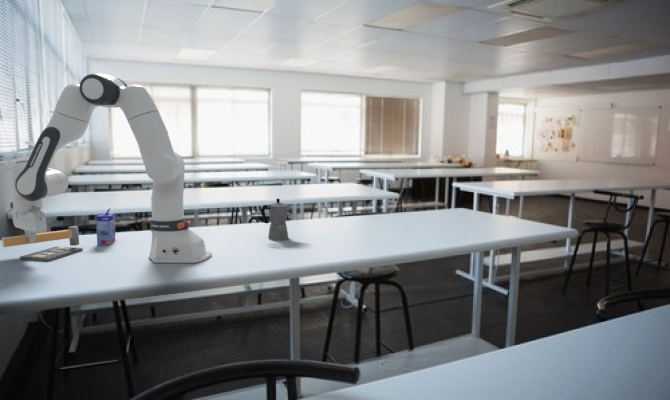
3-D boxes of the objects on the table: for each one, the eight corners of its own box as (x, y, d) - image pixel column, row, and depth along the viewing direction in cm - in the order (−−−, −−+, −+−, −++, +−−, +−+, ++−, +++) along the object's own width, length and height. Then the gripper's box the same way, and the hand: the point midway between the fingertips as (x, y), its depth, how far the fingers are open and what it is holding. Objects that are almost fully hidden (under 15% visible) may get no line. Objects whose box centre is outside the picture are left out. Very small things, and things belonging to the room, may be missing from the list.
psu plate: (82, 250, 173) (82, 247, 173) (49, 261, 157) (48, 257, 157) (55, 248, 175) (55, 245, 175) (20, 259, 159) (19, 255, 159)
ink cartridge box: (111, 245, 183) (109, 210, 181) (96, 245, 181) (94, 210, 179) (116, 240, 192) (114, 206, 190) (102, 240, 191) (100, 207, 189)
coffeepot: (284, 234, 208) (284, 196, 205) (296, 238, 200) (296, 198, 198) (255, 238, 198) (255, 198, 195) (266, 242, 191) (266, 201, 188)
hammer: (80, 244, 177) (79, 226, 176) (5, 255, 159) (3, 236, 158) (77, 243, 179) (76, 225, 178) (3, 254, 161) (1, 234, 160)
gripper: (50, 206, 158) (53, 244, 160) (27, 201, 170) (29, 237, 172) (30, 208, 153) (33, 247, 155) (7, 203, 165) (10, 239, 167)
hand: (31, 242), depth 163 cm, fingers closed
